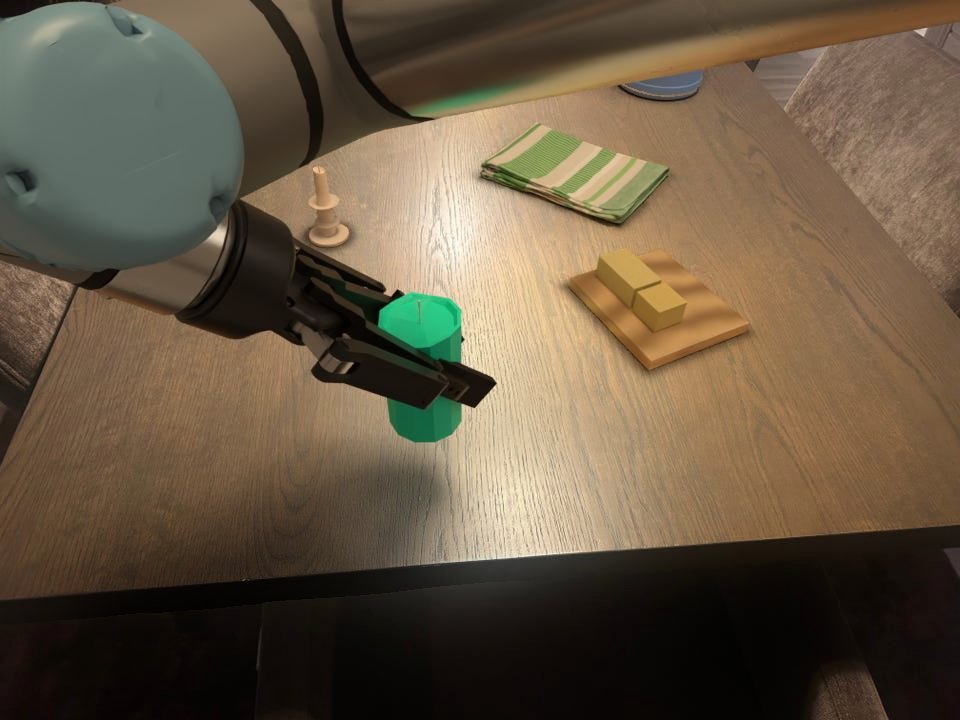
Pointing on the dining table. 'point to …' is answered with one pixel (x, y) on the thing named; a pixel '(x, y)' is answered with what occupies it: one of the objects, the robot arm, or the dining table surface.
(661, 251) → the butter board
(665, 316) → the butter slice
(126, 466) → the dining table surface
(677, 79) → the water jug
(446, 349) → the candle
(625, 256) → the butter block
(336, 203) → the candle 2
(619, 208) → the dish towel
